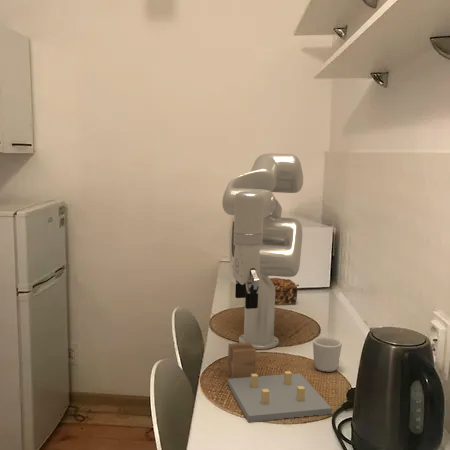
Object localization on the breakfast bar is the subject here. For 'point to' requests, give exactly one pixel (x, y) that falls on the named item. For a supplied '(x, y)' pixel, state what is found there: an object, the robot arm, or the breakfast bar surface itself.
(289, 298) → the bread
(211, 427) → the breakfast bar surface
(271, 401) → the base board
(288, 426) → the breakfast bar surface
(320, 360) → the cup
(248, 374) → the walnut block
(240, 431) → the breakfast bar surface
